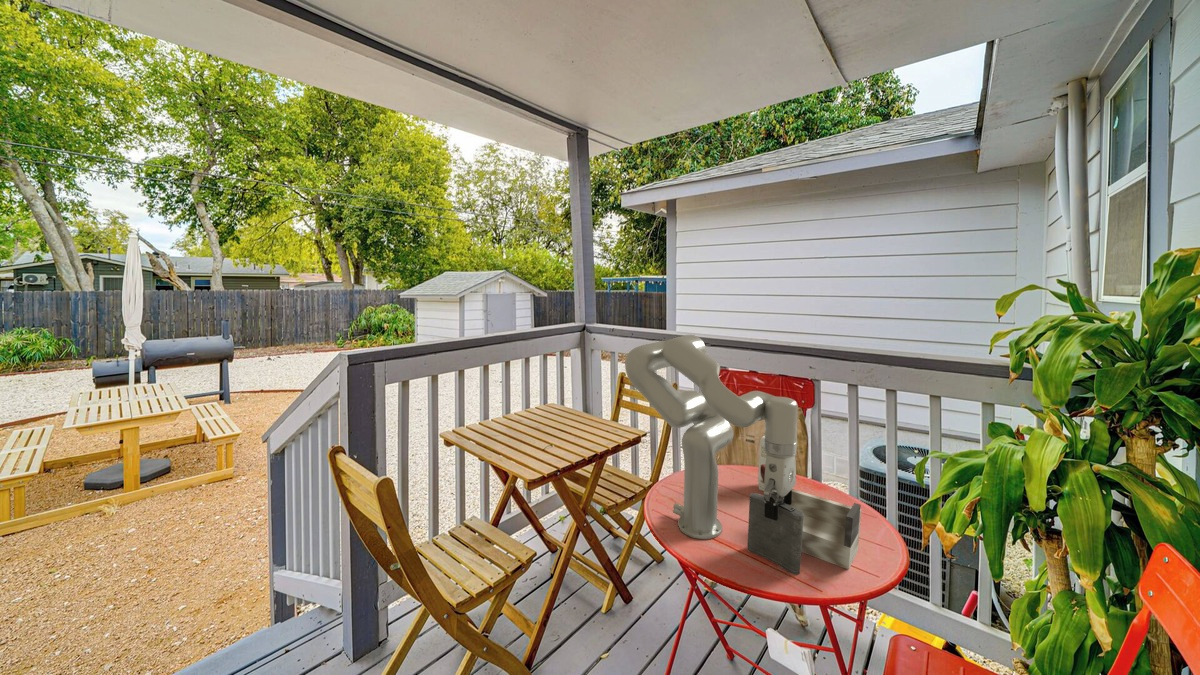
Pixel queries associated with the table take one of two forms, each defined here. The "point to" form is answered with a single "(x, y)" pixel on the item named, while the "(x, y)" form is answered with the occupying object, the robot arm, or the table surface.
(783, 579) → the table surface
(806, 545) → the stone display stand
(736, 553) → the table surface
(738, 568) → the table surface
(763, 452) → the juice carton
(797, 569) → the flask
